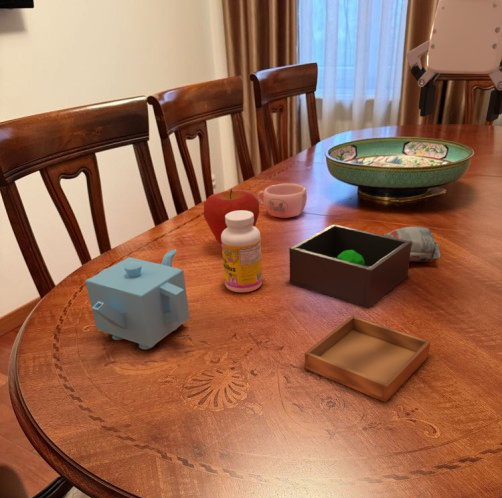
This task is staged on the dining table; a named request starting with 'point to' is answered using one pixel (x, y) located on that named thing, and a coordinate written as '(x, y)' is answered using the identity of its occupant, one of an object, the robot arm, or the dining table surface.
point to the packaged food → (418, 243)
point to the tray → (367, 357)
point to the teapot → (139, 300)
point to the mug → (284, 200)
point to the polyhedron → (351, 257)
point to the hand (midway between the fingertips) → (458, 117)
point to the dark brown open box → (350, 264)
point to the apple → (228, 208)
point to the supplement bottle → (241, 252)
